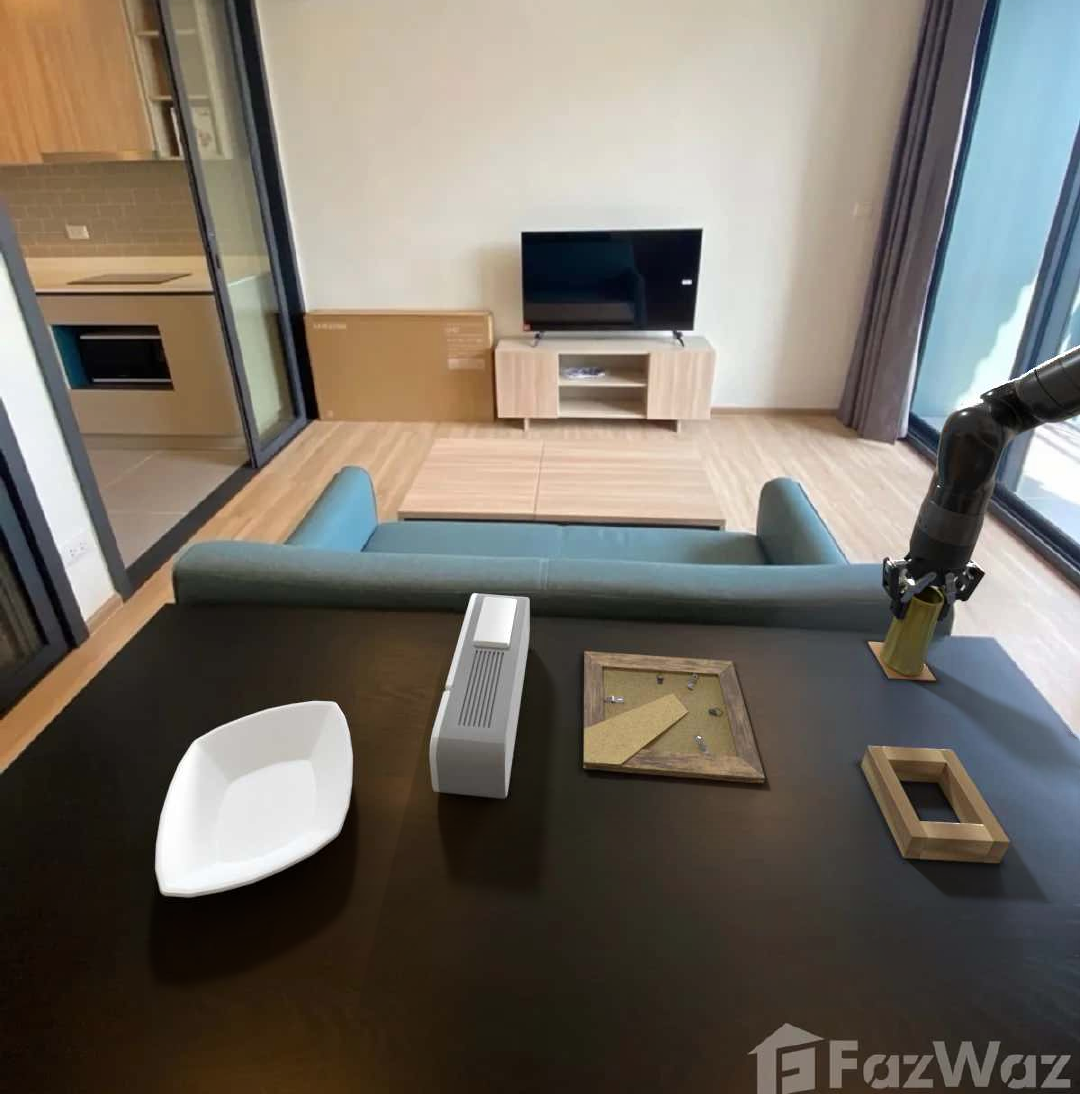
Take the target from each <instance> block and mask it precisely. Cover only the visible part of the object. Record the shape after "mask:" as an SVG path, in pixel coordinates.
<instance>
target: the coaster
mask: <svg viewBox="0 0 1080 1094" xmlns="http://www.w3.org/2000/svg"><path fill="white" fill-rule="evenodd" d="M867 644H868V646H869V647H870V649H871V651H872V652H873V654H874V656H875V657H876V659H877V661H878V663H879V665H880V666H881V668H882V670H883V671H884V672H885V674H886V676H887V678H888V679H890V680H910V681H913V680H914V681H935V682H936V681H937V679H936V678H935V676H934V675H933V674H932V672H931V671H930V669H929V668H928V666H927V664H926V663H925V662H924V668H923V671H922V672H921V673H920V674H919V675H914V676H910V675H904V674H901V673H899V672H897V671H895V670H893V669H892V668H890V667H889V666H888V665H887V664H886V663H885V662H884V661H883V659H882V657H881V653H880V650H881V647H882V646H883V644H884V642H878V641H877V642H875V641H867Z"/></svg>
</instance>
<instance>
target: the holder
mask: <svg viewBox="0 0 1080 1094" xmlns="http://www.w3.org/2000/svg"><path fill="white" fill-rule="evenodd" d="M861 761H862V762H861V763H860V767H861V769H862V772H863V774H864V776H865V778H866V780H867V782H868V784H869V786H870V789H871V791H872V793H873V795H874V798H875V800H876V802H877V804H878V806H879V808H880V810H881V812H882V815H883V817H884V819H885V822H886V823H887V825H888V828H889V829H890V832H891V834H892V836H893V838H894V840H895V842H896V844H897V847H898V849H899V851H900V854H901V856H902V857H903V858H904V859H918V860H937V861H953V862H970V863H971V862H972V863H989V864H1000V862H1001V861H1002V859H1003V857H1004V855H1005V853H1006V851H1007V849H1008V848H1009V846H1010V844H1011V840H1010V839H1009V838H1008V836H1007V834H1006V833H1005V831H1004V830H1003V828H1002V826H1001V824H1000V823H999V822H998V820H997V819H996V817H995V815H994V814H993V812H992V810H991V808H990V807H989V806H988V804H987V803H986V801H985V799H984V798H983V796H982V795H981V793H980V791H979V790H978V788H977V787H976V784H975V783H974V782H973V780H972V779H971V777H970V776H969V774H968V773H967V771H966V768H964V766H963V764H962V763H961V761H960V760H959V758H958V756H957V755H956V753H955V752H954V750H953V749H942V748H940V749H939V748H938V749H937V748H925V747H924V748H921V747H900V746H885V745H883V746H879V745H867V747H866V750H865V752H864V755H863V758H862V760H861ZM900 781H902V782H918V783H937V784H938V786H939V787H940V789H941V790H942V793H943V794H944V796H945V798H946V799H947V801H948V803H949V805H950V806H951V808H952V810H953V811H954V813H955V815H956V816H957V818H958V820H959V822H960V823H959V822H943V821H941V822H940V821H923V820H920V819H919V818H918V816H917V814H916V812H915V809H914V807H913V805H912V804H911V802H910V800H909V798H908V796H907V794H906V792H905V790H904V788H903V786H902V785H901V782H900Z"/></svg>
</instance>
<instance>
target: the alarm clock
mask: <svg viewBox="0 0 1080 1094" xmlns="http://www.w3.org/2000/svg"><path fill="white" fill-rule="evenodd" d="M530 603H531V602H530V598H529V597H527V596H514V595H503V594H502V595H499V594H488V593H475V592H474V593H472V594H471V595H470V597H469V602H468V606H467V608H466V610H465V614H464V619H463V622H462V626H461V629H460V632H459V636H458V640H457V644H456V647H455V650H454V654H453V658H452V661H451V665H450V669H449V671H448V675H447V679H446V681H445V687H444V688H445V690H444V691H443V693H442V697H441V700H440V704H439V707H438V710H437V714H436V717H435V720H434V725H433V728H432V732H431V736H430V742H429V751H428V752H429V753H428V757H429V759H428V760H429V769H430V778H431V787H432V790H433V792H435V793H442V794H443V793H444V794H453V795H463V796H471V797H472V796H473V797H483V798H484V797H485V798H492V799H501V800H505V799H506V798H507V797H508V792H509V786H510V780H511V779H510V778H511V771H512V765H513V759H514V751H515V745H516V737H517V729H518V723H519V716H520V708H521V701H522V694H523V686H524V680H525V673H526V665H527V659H528V652H529V644H530V632H531V631H530V629H531V626H530V625H531V624H530V623H531V621H530V620H531V619H530V617H531V616H530V615H531V612H530V611H531V608H530V605H531V604H530Z"/></svg>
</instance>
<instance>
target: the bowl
mask: <svg viewBox="0 0 1080 1094" xmlns="http://www.w3.org/2000/svg"><path fill="white" fill-rule="evenodd" d="M351 739H352V738H351V733H350V729H349V726H348V722H347V719H346V716H345V714H344V713H343V711H342V710H341V708H340V707H339V705H338V703H337V702H335V701H326V700H312V701H304V702H297V703H296V702H295V703H290V704H285V705H280V706H276V707H271V708H267V709H264V710H261V711H257V712H255V713H252V714H248V715H245V716H242V717H240V718H238V719H235V720H233V721H229V722H227V723H225V724H222V725H220V726H218V727H215V728H214V729H211V730H210V731H209V732H206V733H205V734H204V735H201V736H200V737H198V738H196V739H195V740H193V742H191V744H190V746H189V747H188V749H187V751H186V752H185V753H184V755H183V757H182V759H181V760H180V761H179V763H178V765H177V768H176V770H175V772H174V775H173V777H172V779H171V782H170V784H169V787H168V790H167V793H166V797H165V799H164V802H163V806H162V809H161V813H160V817H159V821H158V822H159V823H158V830H157V836H156V841H155V857H154V860H155V861H154V870H155V871H154V872H155V876H156V881H157V883H158V884H157V885H158V887H159V888H158V889H159V892H160V894H162V896H164V897H174V898H175V897H178V898H196V897H200V896H206V895H211V894H216V893H223V892H225V891H231V890H233V889H237V888H241V887H243V886H248V885H251V884H255V883H256V882H260V881H261V880H263V879H266V878H268V877H270V876H273V875H275V874H277V873H280V872H283V871H285V870H287V869H288V868H290V867H293V866H294V865H296V864H298V863H300V862H302V861H304V860H306V859H308V858H309V857H312V856H314V855H316V853H318V852H319V851H320V850H321V849H323V848H324V847H325V846H327V845H328V844H329V843H331V842H332V841H334V840H335V839H336V838H337V837H338V836H339V835H340V833H341V831H342V830H343V829H342V828H343V826H344V822H345V820H346V817H347V814H348V812H349V809H350V804H351V803H350V802H351V795H352V788H353V773H354V772H353V771H354V753H353V747H352V740H351Z"/></svg>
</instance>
